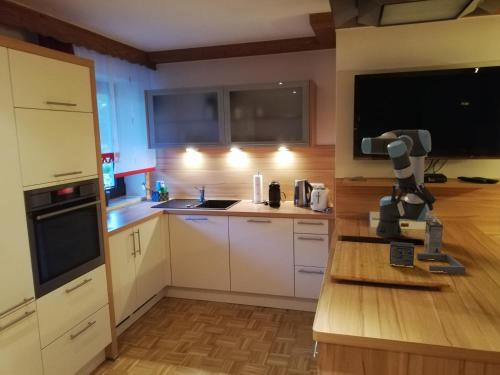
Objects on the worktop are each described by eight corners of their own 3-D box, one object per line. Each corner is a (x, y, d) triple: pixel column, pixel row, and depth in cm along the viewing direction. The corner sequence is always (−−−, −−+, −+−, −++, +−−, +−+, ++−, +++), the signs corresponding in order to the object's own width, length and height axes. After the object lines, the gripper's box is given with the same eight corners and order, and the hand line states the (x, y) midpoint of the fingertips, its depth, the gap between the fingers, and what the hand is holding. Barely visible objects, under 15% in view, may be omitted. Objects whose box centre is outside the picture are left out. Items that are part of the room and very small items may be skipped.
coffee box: (423, 250, 201) (425, 220, 198) (436, 251, 199) (438, 221, 197) (427, 256, 192) (430, 225, 189) (441, 256, 191) (443, 226, 188)
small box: (412, 263, 181) (413, 242, 179) (413, 268, 175) (415, 246, 173) (389, 261, 184) (390, 240, 183) (389, 266, 178) (390, 244, 177)
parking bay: (416, 258, 188) (416, 253, 187) (447, 259, 186) (448, 253, 186) (430, 272, 170) (430, 266, 169) (465, 273, 169) (465, 267, 168)
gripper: (375, 179, 175) (388, 218, 182) (429, 178, 156) (440, 221, 162) (383, 172, 179) (395, 210, 186) (436, 169, 160) (447, 212, 166)
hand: (416, 215), depth 174 cm, fingers open, 13 cm apart
